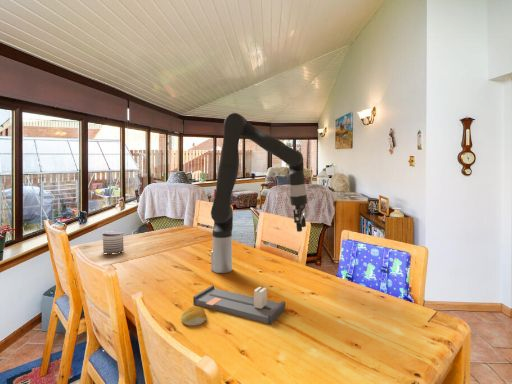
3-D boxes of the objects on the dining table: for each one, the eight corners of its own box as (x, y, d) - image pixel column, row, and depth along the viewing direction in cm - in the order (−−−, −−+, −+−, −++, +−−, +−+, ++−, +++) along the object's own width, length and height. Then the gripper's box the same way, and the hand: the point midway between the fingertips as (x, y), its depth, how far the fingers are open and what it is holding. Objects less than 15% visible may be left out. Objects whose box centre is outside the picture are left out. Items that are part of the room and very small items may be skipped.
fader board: (191, 305, 120) (191, 297, 120) (212, 292, 132) (212, 285, 131) (269, 326, 105) (269, 317, 105) (285, 309, 117) (285, 301, 117)
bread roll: (203, 312, 115) (203, 301, 115) (208, 324, 107) (207, 312, 106) (180, 315, 113) (179, 304, 112) (182, 328, 104) (182, 316, 104)
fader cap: (253, 307, 114) (253, 290, 113) (259, 302, 117) (259, 286, 116) (261, 308, 112) (261, 291, 112) (266, 304, 116) (266, 287, 115)
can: (100, 251, 189) (99, 231, 187) (120, 248, 196) (119, 228, 195) (106, 256, 180) (105, 235, 179) (127, 252, 188) (126, 232, 187)
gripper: (293, 192, 155) (297, 225, 157) (286, 197, 142) (289, 233, 144) (309, 191, 153) (312, 225, 154) (302, 196, 139) (306, 232, 141)
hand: (301, 229), depth 149 cm, fingers open, 8 cm apart
